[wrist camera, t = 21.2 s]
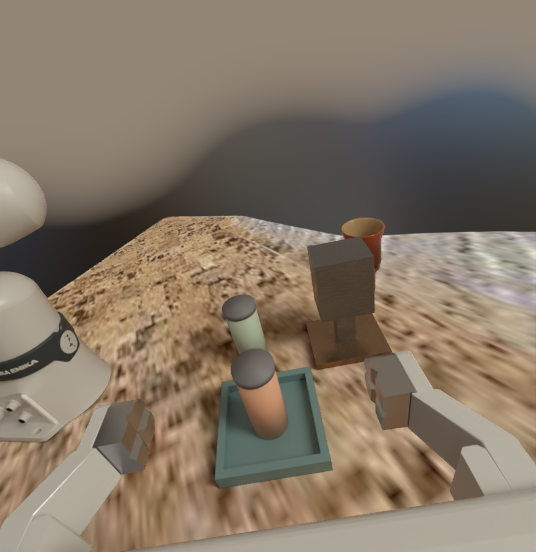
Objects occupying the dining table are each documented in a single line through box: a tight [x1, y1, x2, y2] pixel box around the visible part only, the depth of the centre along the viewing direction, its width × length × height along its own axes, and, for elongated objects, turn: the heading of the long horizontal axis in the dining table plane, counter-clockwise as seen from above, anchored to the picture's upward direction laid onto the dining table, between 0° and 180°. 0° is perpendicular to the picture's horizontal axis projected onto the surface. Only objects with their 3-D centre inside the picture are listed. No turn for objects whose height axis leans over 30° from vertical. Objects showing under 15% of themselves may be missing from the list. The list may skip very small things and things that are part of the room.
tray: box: [215, 367, 333, 488], centre depth 44 cm, size 14×14×2 cm
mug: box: [341, 217, 385, 272], centre depth 69 cm, size 12×9×10 cm
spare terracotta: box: [231, 349, 288, 440], centre depth 40 cm, size 5×5×12 cm
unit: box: [306, 236, 392, 370], centre depth 49 cm, size 12×10×18 cm
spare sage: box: [222, 295, 268, 354], centre depth 52 cm, size 5×5×12 cm
